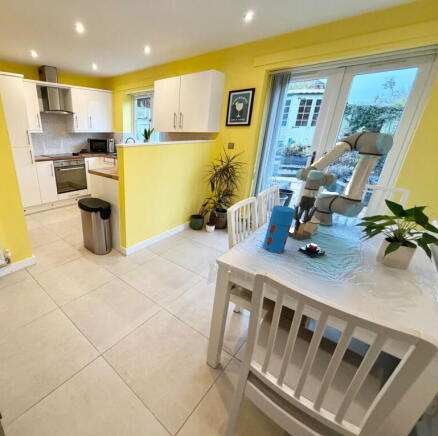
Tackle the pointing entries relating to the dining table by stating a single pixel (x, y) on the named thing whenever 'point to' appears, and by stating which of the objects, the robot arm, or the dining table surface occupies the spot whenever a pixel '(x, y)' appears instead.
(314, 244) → the button
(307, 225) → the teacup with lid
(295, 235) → the brown flat piece
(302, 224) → the tan square slab
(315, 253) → the button box
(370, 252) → the dining table surface
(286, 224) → the thermos
